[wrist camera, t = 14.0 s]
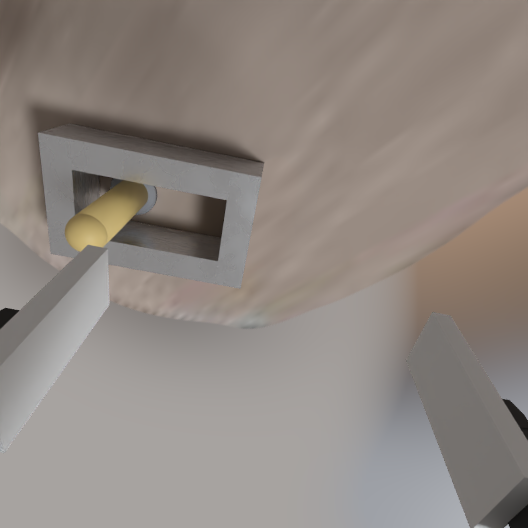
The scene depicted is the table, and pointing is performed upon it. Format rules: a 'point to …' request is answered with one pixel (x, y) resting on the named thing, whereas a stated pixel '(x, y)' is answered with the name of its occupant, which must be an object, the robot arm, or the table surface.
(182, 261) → the link
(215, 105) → the table surface
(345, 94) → the table surface
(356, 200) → the table surface
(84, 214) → the post
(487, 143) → the table surface
